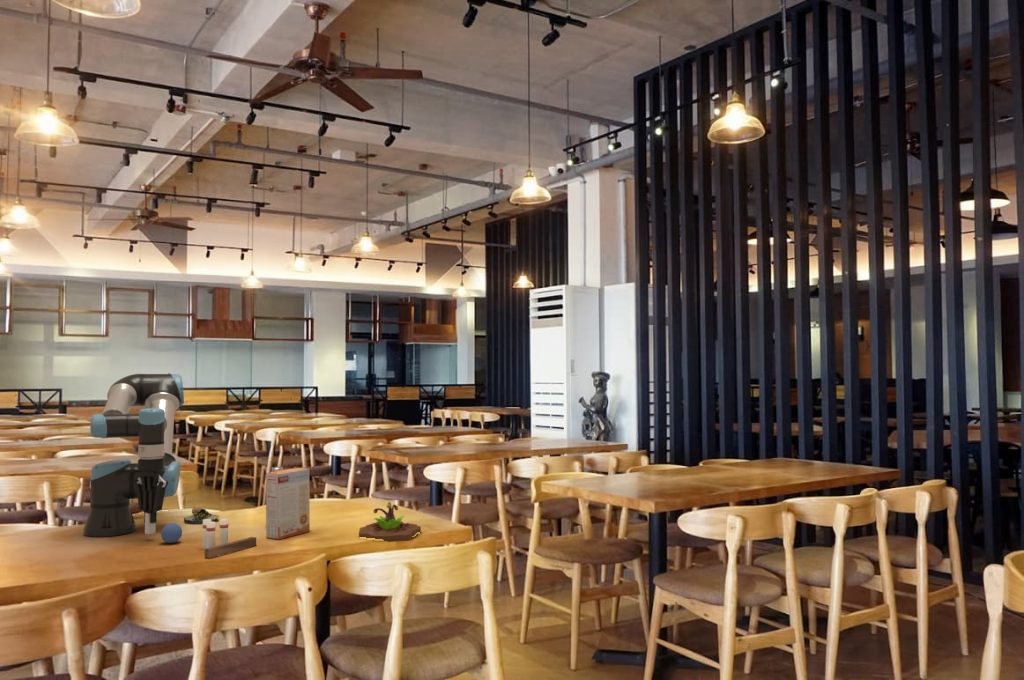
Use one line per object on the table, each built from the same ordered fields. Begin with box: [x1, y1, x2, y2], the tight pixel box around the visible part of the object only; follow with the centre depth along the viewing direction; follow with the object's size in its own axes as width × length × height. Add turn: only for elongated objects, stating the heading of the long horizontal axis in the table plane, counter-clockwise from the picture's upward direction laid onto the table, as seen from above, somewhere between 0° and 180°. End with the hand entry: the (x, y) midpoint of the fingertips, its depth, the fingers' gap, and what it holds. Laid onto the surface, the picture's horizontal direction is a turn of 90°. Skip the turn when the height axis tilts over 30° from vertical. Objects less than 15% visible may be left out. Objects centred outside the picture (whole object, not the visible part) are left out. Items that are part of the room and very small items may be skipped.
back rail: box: [204, 536, 257, 559], centre depth 237 cm, size 2×18×2 cm, turn 154°
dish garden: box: [183, 502, 220, 525], centre depth 282 cm, size 12×12×8 cm
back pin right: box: [206, 521, 216, 549], centre depth 237 cm, size 2×2×8 cm
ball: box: [160, 522, 183, 544], centre depth 248 cm, size 6×6×6 cm
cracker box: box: [265, 467, 311, 540], centre depth 260 cm, size 14×6×21 cm, turn 150°
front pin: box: [202, 519, 212, 550], centre depth 241 cm, size 2×2×8 cm
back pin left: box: [218, 518, 229, 546], centre depth 241 cm, size 2×2×8 cm
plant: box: [358, 502, 422, 543], centre depth 260 cm, size 20×20×11 cm
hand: (150, 533), depth 252 cm, fingers closed
